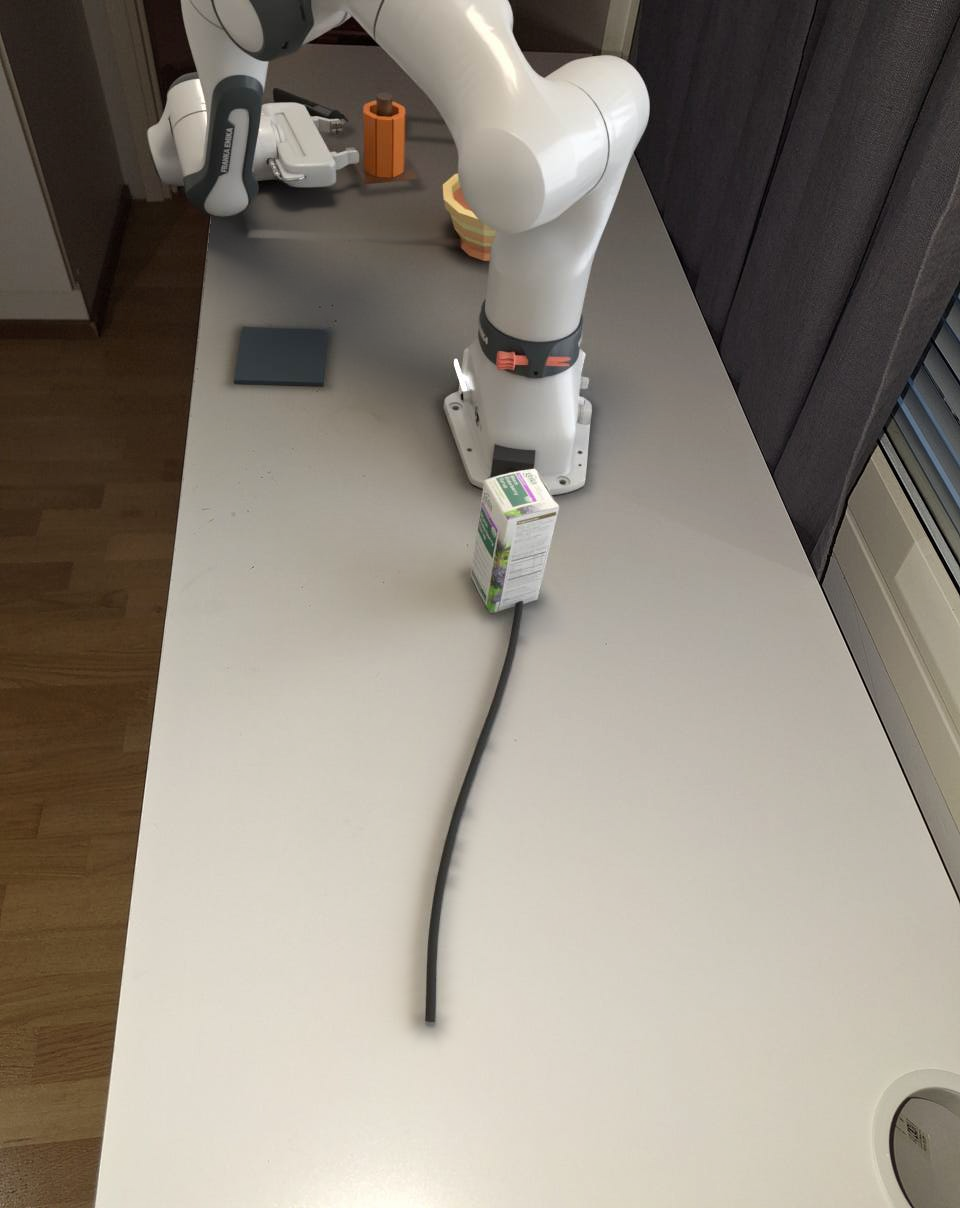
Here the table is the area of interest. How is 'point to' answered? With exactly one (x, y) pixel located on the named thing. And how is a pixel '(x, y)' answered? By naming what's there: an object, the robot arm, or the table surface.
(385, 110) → the post
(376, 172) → the orange faceted tube
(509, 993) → the table surface
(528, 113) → the robot arm
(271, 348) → the mat
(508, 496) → the syrup box
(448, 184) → the potted cactus
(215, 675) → the table surface
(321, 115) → the electric trimmer
